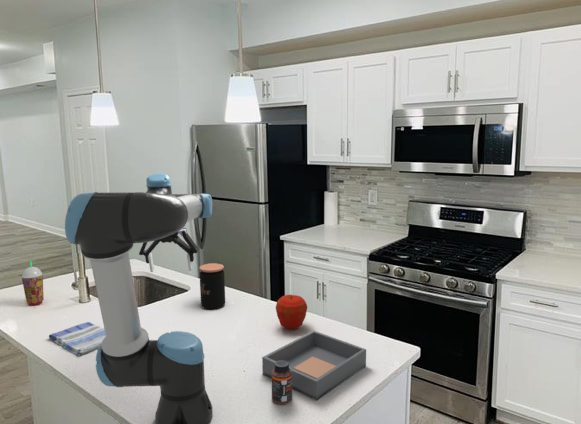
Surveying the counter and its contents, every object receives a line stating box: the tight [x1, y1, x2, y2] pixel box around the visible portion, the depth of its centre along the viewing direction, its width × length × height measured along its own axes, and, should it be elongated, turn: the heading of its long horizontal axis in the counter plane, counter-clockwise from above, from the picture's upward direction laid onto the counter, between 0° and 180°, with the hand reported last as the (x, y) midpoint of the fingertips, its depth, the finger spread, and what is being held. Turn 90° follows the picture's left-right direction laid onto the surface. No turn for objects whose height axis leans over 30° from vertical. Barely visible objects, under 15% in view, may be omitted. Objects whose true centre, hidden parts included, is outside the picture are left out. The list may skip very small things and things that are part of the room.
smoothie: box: [21, 260, 45, 307], centre depth 209 cm, size 8×8×20 cm
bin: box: [261, 330, 367, 401], centre depth 151 cm, size 26×22×6 cm
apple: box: [275, 294, 308, 331], centre depth 182 cm, size 12×12×14 cm
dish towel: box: [48, 321, 106, 357], centre depth 175 cm, size 17×24×3 cm
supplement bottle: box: [271, 360, 293, 405], centre depth 135 cm, size 6×6×11 cm
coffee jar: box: [198, 262, 226, 311], centre depth 205 cm, size 11×11×18 cm
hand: (171, 269), depth 169 cm, fingers open, 13 cm apart
